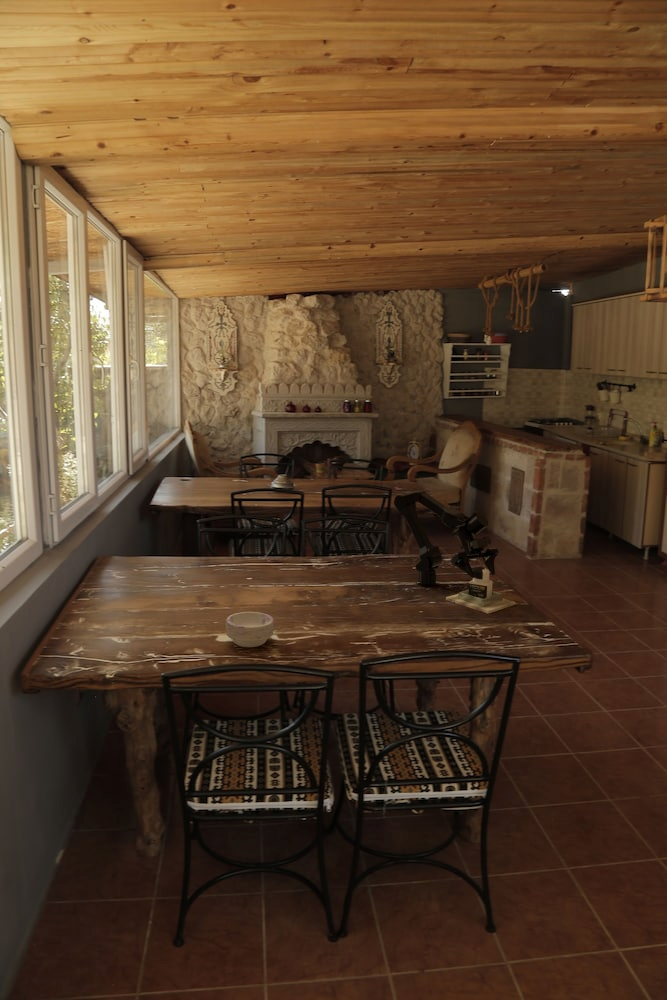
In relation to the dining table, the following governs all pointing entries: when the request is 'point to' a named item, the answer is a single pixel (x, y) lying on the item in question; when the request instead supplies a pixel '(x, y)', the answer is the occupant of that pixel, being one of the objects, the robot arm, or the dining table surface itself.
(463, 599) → the holder board
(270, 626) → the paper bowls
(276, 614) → the dining table surface
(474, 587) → the medicine bottle
